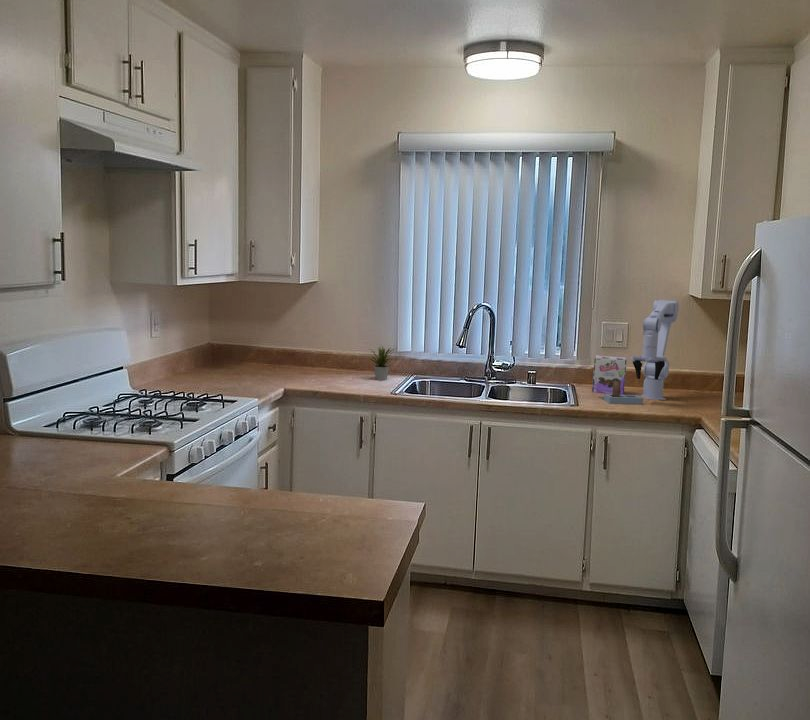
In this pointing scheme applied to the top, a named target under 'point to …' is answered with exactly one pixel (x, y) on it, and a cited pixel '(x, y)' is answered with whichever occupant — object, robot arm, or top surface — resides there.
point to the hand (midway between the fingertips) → (647, 379)
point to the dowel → (616, 389)
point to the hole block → (623, 399)
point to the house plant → (381, 364)
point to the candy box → (608, 373)
